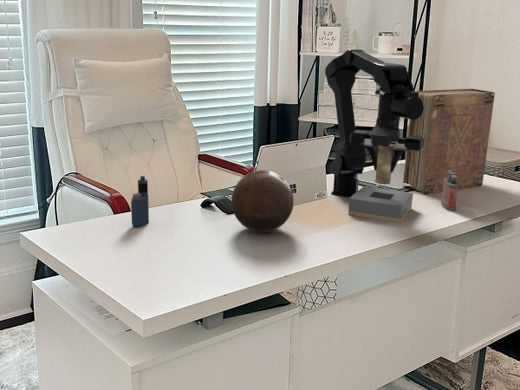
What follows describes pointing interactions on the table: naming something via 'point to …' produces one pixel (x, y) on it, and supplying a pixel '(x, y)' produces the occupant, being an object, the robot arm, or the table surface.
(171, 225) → the table surface
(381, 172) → the wooden pin
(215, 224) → the table surface
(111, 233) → the table surface
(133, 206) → the vaping device
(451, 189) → the lighter
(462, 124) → the book
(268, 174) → the wooden sphere
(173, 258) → the table surface
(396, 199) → the grey square-holed block
